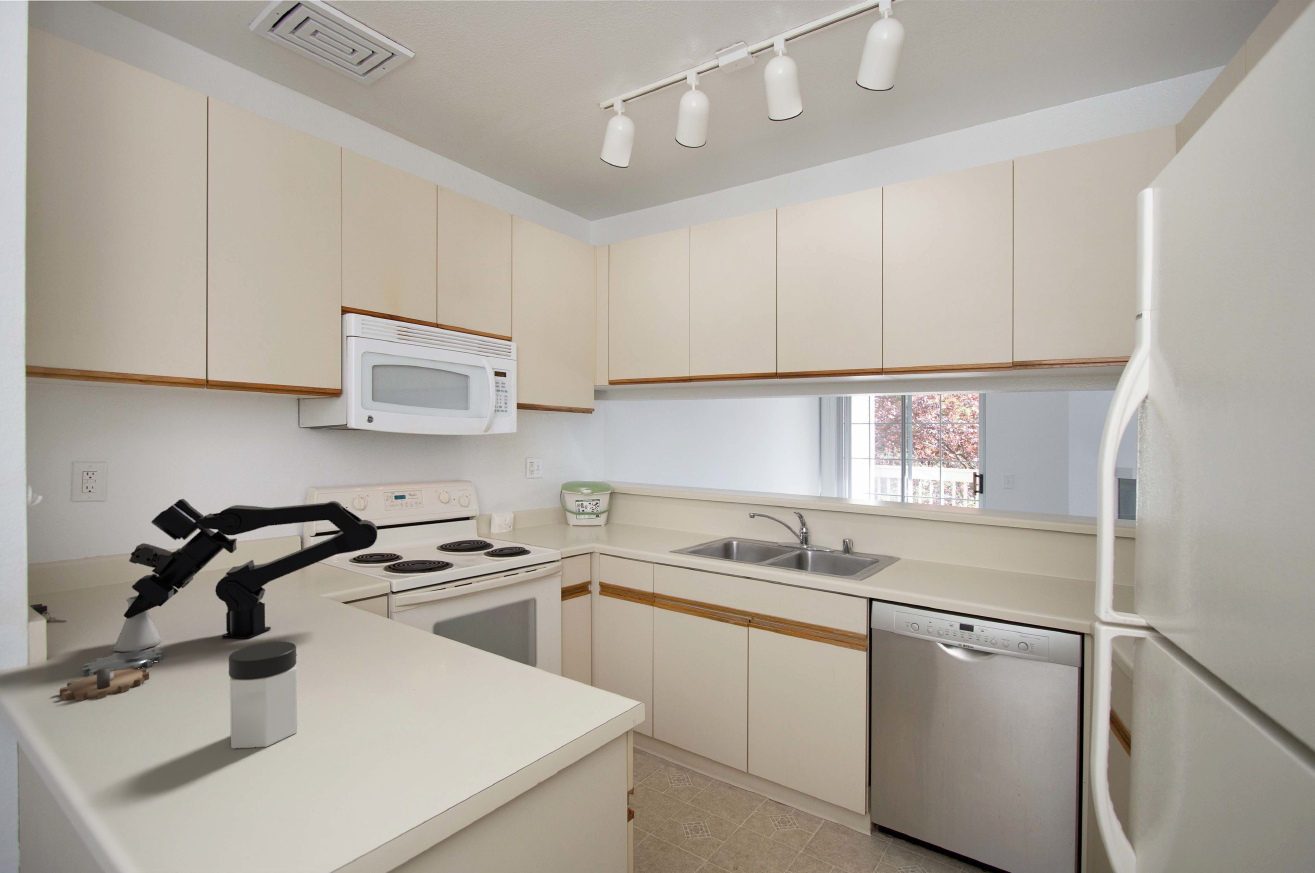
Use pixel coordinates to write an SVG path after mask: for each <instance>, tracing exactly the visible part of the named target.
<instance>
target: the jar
mask: <svg viewBox="0 0 1315 873" xmlns="http://www.w3.org/2000/svg"><path fill="white" fill-rule="evenodd" d="M297 655H298V654H297V645H296V644H295V643H293V642H291V641H277V640H276V641H268V642H260V643H256V644H252V645H248V646H245V647H242V648H239V649H236V650H235V651H233V652H232V653H231V654H230V655H229V656H228V676H229V715H230V716H229V718H230V720H229V722H230V724H229V726H230V727H229V728H230V748H231V749H233V750H234V749H235V750H236V748H238V749H250V748H251V749H255V747H256V748H266V747H267V748H268V747H269V746H272V745H273V744H276V743H279V742H280V741H282V740H284V739H286V738H288V737H290V736H292V735H295V734H296V733H297V732H298V729H299V728H298V725H299V724H298V723H299V722H298V721H299V720H298V668H297V665H296V664H297Z"/></svg>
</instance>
